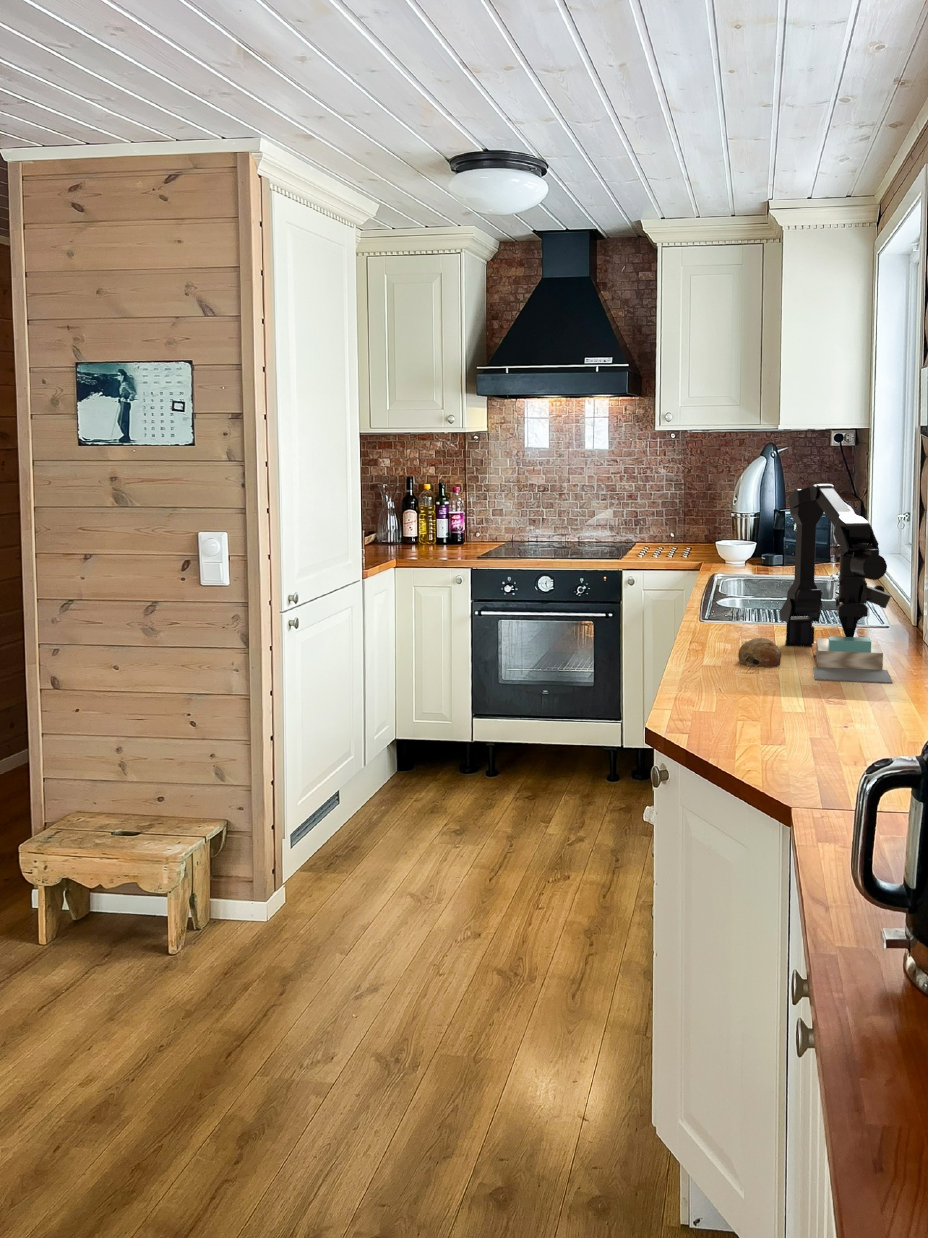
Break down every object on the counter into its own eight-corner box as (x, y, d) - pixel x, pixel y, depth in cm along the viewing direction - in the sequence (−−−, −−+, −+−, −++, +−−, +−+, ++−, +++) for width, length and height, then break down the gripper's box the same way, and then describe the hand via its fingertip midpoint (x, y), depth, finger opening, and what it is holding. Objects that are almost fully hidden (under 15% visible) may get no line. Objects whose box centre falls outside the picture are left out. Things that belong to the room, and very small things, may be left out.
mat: (814, 680, 252) (814, 678, 252) (813, 668, 265) (813, 666, 265) (892, 683, 248) (892, 682, 248) (887, 671, 261) (887, 669, 261)
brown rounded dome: (734, 679, 272) (732, 651, 268) (745, 654, 280) (742, 626, 275) (777, 682, 267) (775, 654, 263) (786, 657, 275) (784, 629, 271)
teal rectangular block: (829, 651, 264) (829, 640, 264) (828, 646, 270) (828, 636, 270) (870, 652, 262) (871, 641, 262) (869, 648, 268) (869, 637, 267)
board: (817, 668, 265) (818, 650, 265) (815, 654, 283) (816, 638, 282) (882, 670, 262) (883, 653, 261) (876, 656, 279) (877, 640, 278)
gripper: (892, 580, 256) (889, 649, 258) (885, 571, 274) (882, 636, 276) (840, 579, 259) (837, 648, 261) (836, 570, 277) (834, 635, 279)
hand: (849, 641), depth 269 cm, fingers closed
